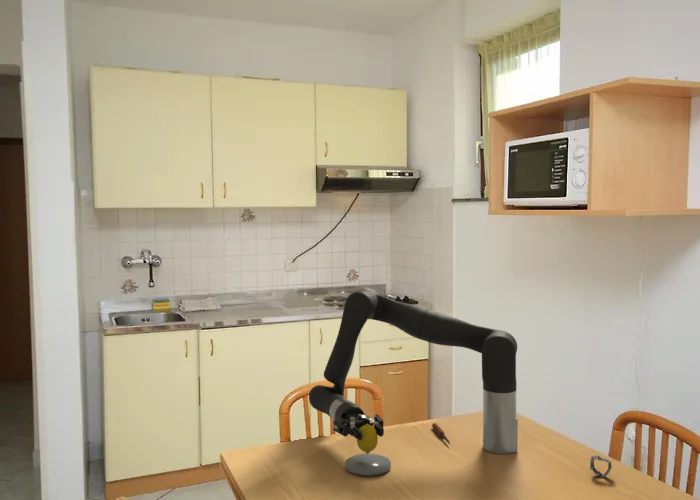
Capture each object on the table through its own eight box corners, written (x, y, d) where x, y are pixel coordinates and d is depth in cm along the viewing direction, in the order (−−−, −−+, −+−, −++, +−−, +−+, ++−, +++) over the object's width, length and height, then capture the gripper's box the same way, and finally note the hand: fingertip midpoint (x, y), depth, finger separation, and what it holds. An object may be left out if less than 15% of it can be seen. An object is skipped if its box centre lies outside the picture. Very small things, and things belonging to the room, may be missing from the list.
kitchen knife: (431, 428, 194) (431, 422, 194) (436, 428, 194) (436, 422, 194) (447, 447, 179) (447, 440, 178) (452, 447, 179) (452, 440, 179)
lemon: (376, 458, 161) (375, 428, 161) (355, 456, 163) (354, 427, 162) (379, 450, 167) (379, 421, 166) (359, 448, 168) (358, 419, 167)
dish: (392, 459, 170) (391, 454, 170) (389, 478, 158) (389, 472, 158) (348, 458, 171) (348, 452, 171) (342, 476, 160) (342, 471, 159)
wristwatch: (591, 472, 160) (591, 453, 160) (612, 477, 157) (612, 458, 157) (587, 476, 158) (588, 457, 157) (609, 481, 155) (609, 462, 154)
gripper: (322, 404, 174) (345, 424, 159) (369, 398, 180) (396, 416, 164) (322, 431, 175) (346, 453, 159) (369, 423, 180) (396, 444, 165)
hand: (371, 434), depth 162 cm, fingers closed on lemon, 5 cm apart
